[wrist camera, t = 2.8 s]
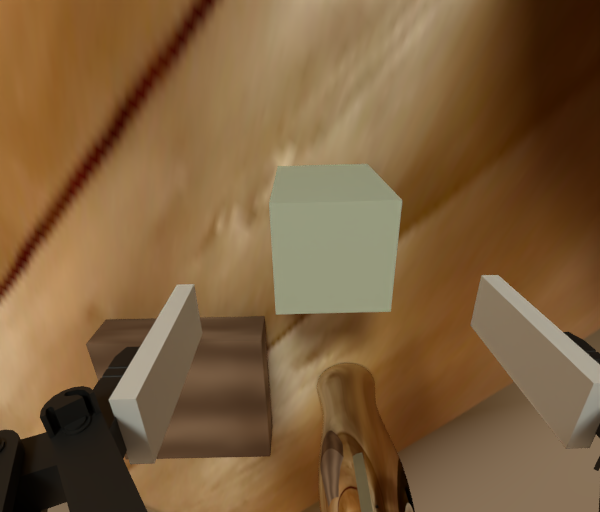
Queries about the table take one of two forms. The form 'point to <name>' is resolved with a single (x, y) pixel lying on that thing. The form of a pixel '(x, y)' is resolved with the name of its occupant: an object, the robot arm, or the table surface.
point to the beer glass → (357, 447)
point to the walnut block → (208, 386)
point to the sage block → (333, 239)
